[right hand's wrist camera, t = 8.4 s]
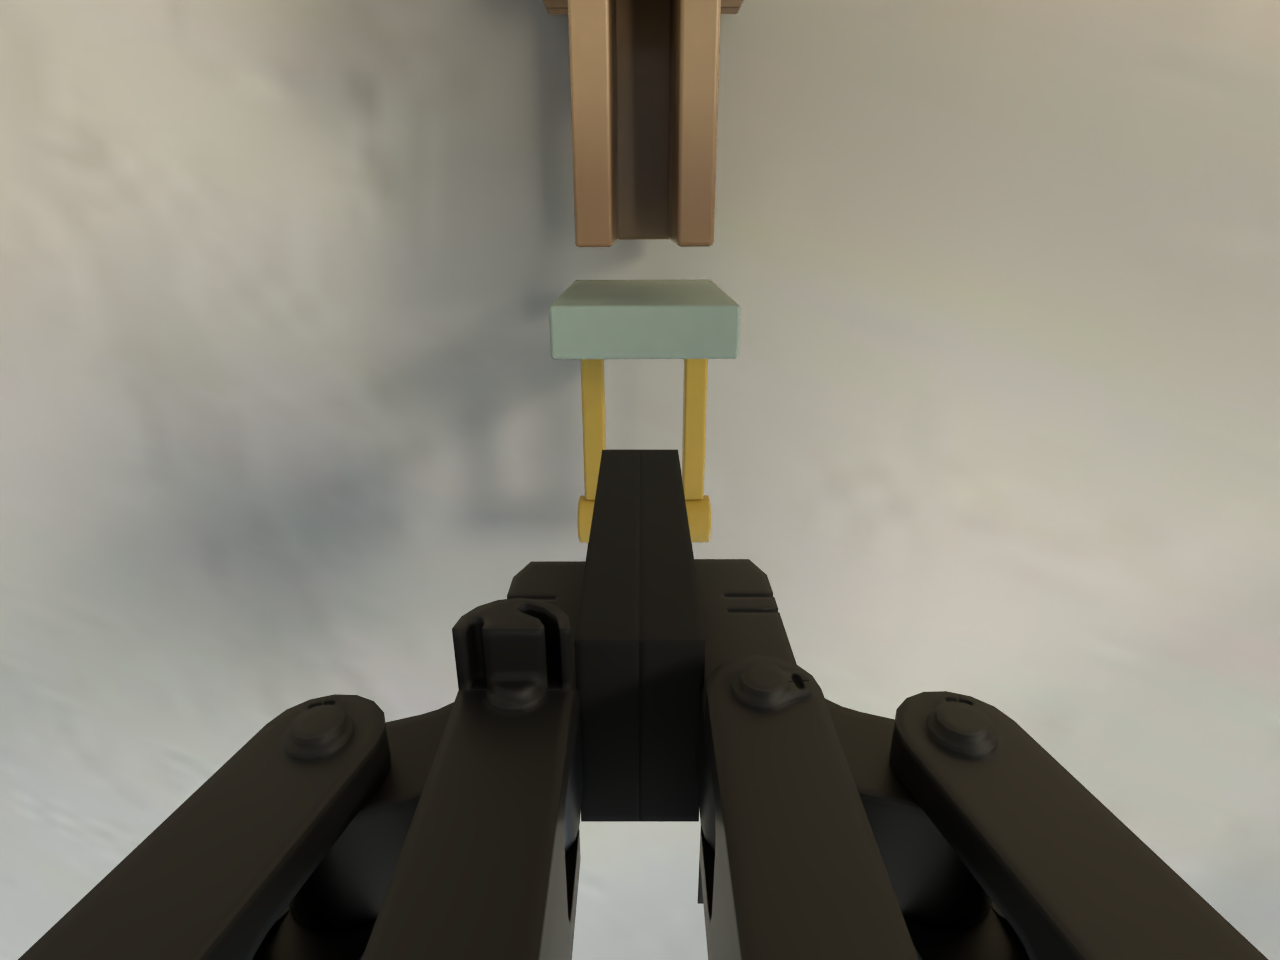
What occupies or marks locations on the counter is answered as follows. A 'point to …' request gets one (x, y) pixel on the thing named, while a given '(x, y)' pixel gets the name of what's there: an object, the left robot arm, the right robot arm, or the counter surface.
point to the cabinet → (558, 4)
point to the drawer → (645, 212)
